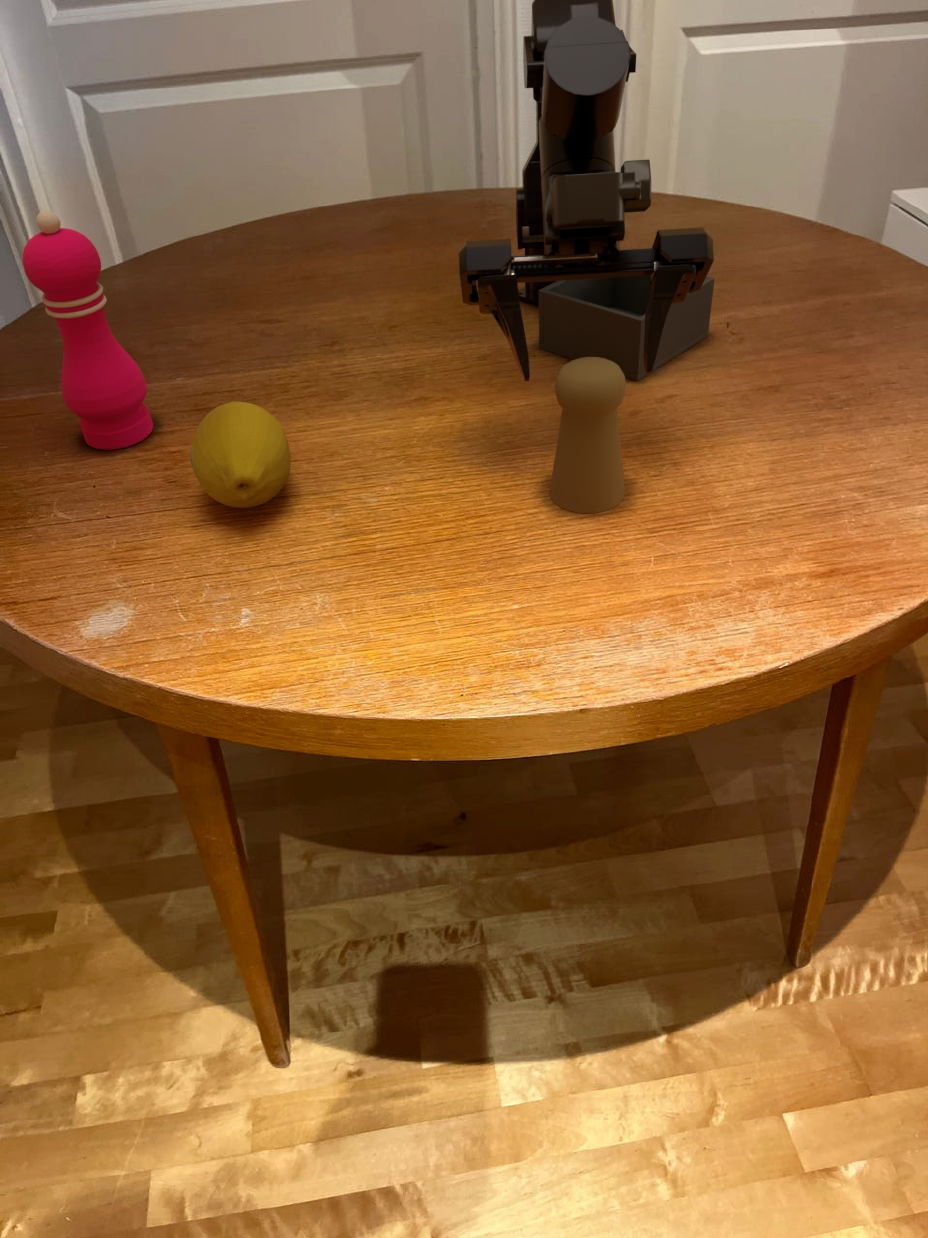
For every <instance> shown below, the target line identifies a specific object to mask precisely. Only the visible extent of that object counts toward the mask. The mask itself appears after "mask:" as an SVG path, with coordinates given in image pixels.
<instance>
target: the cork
mask: <svg viewBox="0 0 928 1238" xmlns="http://www.w3.org/2000/svg"><path fill="white" fill-rule="evenodd" d="M626 386H627V381H626V377H625V376H624V374H623V372H622V370H621V369H620V367H619V365H617V364H616V363H614V362H612V361H610V360H607V359H605V358H599V357H584V358H579V359H575V360H574V359H572V360H571V361H569V362H567V363H565V364H564V365H562V367H561V368H560V370H559V371H558V373H557V376H556V379H555V384H554V392H555V397H556V401H557V402H558V404H559V406H560V407H561V408H562V409H561V416H560V421H559V429H558V436H557V441H556V447H555V448H556V449H555V455H554V459H553V461H554V462H553V467H552V474H551V479H550V480H551V481H550V485H549V486H550V487H549V492H548V494H549V496H550V499H551V501H552V502H553V503H554V504H556V506H558V507H560V508H562V509H564V510H566V511H569V512H573V513H577V514H596V513H603V512H606V511H607V510H608V511H609V510H611V509H614V508H615V507H616V506H617V505H620V504H621V502H622V501H623V499H624V498H625V493H626V492H625V491H626V489H625V488H626V487H625V479H624V467H623V456H622V446H621V435H620V424H619V412H618V408H619V407H620V405H622V404H623V402H624V398H625V395H626Z"/></svg>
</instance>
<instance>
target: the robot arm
mask: <svg viewBox="0 0 928 1238" xmlns="http://www.w3.org/2000/svg"><path fill="white" fill-rule="evenodd" d="M614 7H615V6H614V0H533V1H532V3H531V29H530V30H531V34H530V35H523V38H522V40H523V43H522V45H523V46H522V50H523V51H522V53H523V54H522V57H523V59H522V60H523V61H522V62H523V85H524V89H532V98H533V100H534V102H535V126H536V127H535V132H536V133H535V134H536V135H535V137H536V141H535V143H534V145H533V147H532V149H531V152H530V153H529V155H528V157H527V159H526V162H525V164H524V166H523V168H522V172H521V173H522V174H521V175H522V176H521V177H522V178H521V181H522V183H521V184H522V187H520V188H515V190H516V191H515V225H516V226H515V227H516V229H515V230H516V231H515V232H516V244H517V250H524V255H512V241H511V240H512V239H511V238H498V239H497V238H496V239H495V238H494V239H480V240H466V241H465V242H464V243H463V244H462V245H461V247H460V248H459V250H458V269H459V270H458V271H459V282H460V288H461V289H460V290H461V298H462V299H461V300H462V303H463V304H465V305H468V306H478V310H479V313H480V314H483V315H492V316H493V318H494V320H495V322H496V323H497V325H498V326H499V328H500V330H501V331H502V334H503V335H504V337H505V338H506V340H507V342H508V345H509V347H510V350H511V352H512V355H513V357H514V360H515V362H516V364H517V367H518V369H519V371H520V374H521V377H522V379H523V381H524V382H530V380H531V379H530V378H531V375H530V374H531V373H530V371H531V370H530V355H529V349H528V343H527V338H526V337H527V336H526V332H525V326H524V320H523V314H522V308H521V301H523V302H526V303H530V304H533V305H536V306H539V290H541V289H543V288H545V287H547V286H548V285H550V284H552V283H554V282H556V281H562V280H580V279H598V278H616V277H633V276H648V282H649V287H650V290H649V292H648V295H647V298H646V309H645V334H644V367H645V374H646V376H651V375H652V373H653V371H652V370H653V367H654V363H655V359H656V355H657V351H658V347H659V344H660V340H661V336H662V332H663V328H664V325H665V321H666V317H667V314H668V311H669V309H670V306H671V304H678V303H681V302H683V301H684V300H685V298H686V296H687V293H693V292H695V291H698V290H700V289H701V287H702V284H703V282H704V280H705V278H706V276H707V277H708V274H709V272H710V270H711V268H712V265H713V263H714V262H715V256H714V239H713V237H712V236H711V234H710V233H709V232H708V231H707V230H706V229H705V228H704V227H703V226H702V227H687V228H686V227H685V228H684V227H683V228H671V229H670V228H669V229H666V228H665V229H657V231H656V234H655V237H654V241H653V244H652V247H651V248H633V249H620V248H621V247H620V242H621V241H624V239H625V235H626V234H625V233H626V225H625V224H626V223H625V221H626V219H625V217H626V216H625V215H626V213H643V212H646V211H647V210H648V209H649V208H650V207H651V205H652V173H651V160H650V159H636V160H635V159H633V160H625V161H624V162H623V163H622V165H621V167H620V171H616V154H615V133H614V130H615V128H616V127H617V124H618V121H619V118H620V115H621V114H620V113H621V109H622V104H623V99H624V98H623V97H624V93H625V88H626V83H628V82H629V78H630V74H633V73H636V71H637V53H636V52H635V51H634V49H633V48H632V47H631V46H630V44H629V41H628V40H627V39H626V36H625V33H624V30H623V29H620V28H619V27H617V26H616V17H615V15H616V14H615V9H614ZM525 227H526V228H525ZM527 227H528V228H527ZM523 283H524V285H525V286H524V289H522V290H520V291H519V285H518V284H523Z"/></svg>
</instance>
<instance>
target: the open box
mask: <svg viewBox="0 0 928 1238" xmlns="http://www.w3.org/2000/svg"><path fill="white" fill-rule="evenodd" d="M714 286H715V277H711V276H708V275H707V276H706V278H705V280H704V282H703V284H702V287H701V289H700V290H698V291H695V292H693V293H687V296H686V298H685V300H684V301H683V302H681V303H678V304H671V306H670V309H669V311H668V314H667V317H666V321H665V325H664V328H663V332H662V336H661V340H660V344H659V347H658V351H657V355H656V359H655V363H654V367H653V370H652V372H655V370H657V369H659V368H660V367H662V366H664V365H665V364H667V363H668V362H670V361H672V360H673V359H675V358H676V357H679V355H681V354H682V353H684V352H685V351H687V350H688V349H691V348H692V347H693V346H695V345H697V344H698V343H700V342H702V341H703V340H705V339H706V338H708V337H709V331H710V322H711V313H712V304H713V295H714ZM649 290H650V287H649V282H648V276H633V277H616V278H598V279H580V280H562V281H556V282H554V283H552V284H550V285H548V286H547V287H545V288H543V289H541V290H539V305H538V348H539V349H541V350H545V351H547V352H549V353H552V354H556V355H559V356H562V357H565V358H568V359H570V360H575V359H579V358H584V357H599V358H605V359H607V360H610V361H612V362H614V363H616V364H617V365H619V367H620V369H621V370H622V372H623V374H624V376H625V378H628V379H630V380H633V381H636V382H638V381H640V380H641V379H643V378H645V377H646V376H647V375H646V374H645V367H644V334H645V309H646V298H647V295H648V292H649Z"/></svg>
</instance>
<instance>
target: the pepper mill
mask: <svg viewBox="0 0 928 1238" xmlns="http://www.w3.org/2000/svg"><path fill="white" fill-rule="evenodd" d="M35 221H36V226H37V228H38V230H39V231H40V232H38V233H37V234H35V235H33V236H32V237H31V238H29V240H28V241H27V242H26V244H25V245H24V247H23V251H22V266H23V270H24V273H25V276H26V277H27V279H28V281H29V282H30V284H32V286H34V287H35V288H37V289H38V290H39V291H41V292H42V293H43V294H42V296H41V302H42V303H43V304H44V306H45V309H44V310H45V312H46V314H47V315H48V316H49V317H52V318H53V319H54V320H55V323H56V325H57V327H58V329H59V332H60V337H61V339H62V344H63V358H62V359H63V361H62V369H61V377H60V379H61V393H62V395H63V400H64V403H65V406H66V407H67V409H68V410H69V411H70V412H71V413H72V414H74V415H75V416H76V417H78V418H80V421H79V427H80V430H81V433H82V435H83V438H84V440H85V443H86V445H88V446H89V447H91V448H94V449H96V450H101V451H102V450H103V451H104V450H105V451H113V450H118V449H119V450H120V449H124V448H127V447H128V448H129V447H131V446H134V445H136V444H138V443H140V442H142V441H144V440H145V439H147V437H149V436H150V435H151V433H152V431H153V429H154V422H153V419H152V416H151V413H150V410H149V407H148V406H147V405H146V404H145V403H144V401H145V399H146V396H147V395H148V394H147V393H148V385H147V382H146V379H145V376H144V375H143V372H142V370H141V368H140V367H139V366H138V364H137V362H136V361H135V360H134V359H133V357H132V356H131V355H130V353H128V352H127V351H126V350H125V349H124V348H123V347H122V345H121V344H120V343H119V342H118V340H117V339H116V337H115V336H114V334H113V333H112V331H111V328H110V326H109V323H108V321H107V318H106V314H105V313H106V312H105V308H104V306H105V305H106V304H107V299H108V298H107V296H105V294H104V286H103V285H102V284H101V283H99V282H98V279H99V277H100V275H101V270H102V260H101V257H100V253H99V251H98V250H97V247H96V246H95V245H94V243H93V242H92V241H91V240H90V239H89V237H87V236H86V235H85V234H83V233H82V232H79V231H78V230H75V229H72V228H66V227H61V224H62V223H61V220H60V218H59V216H58V215H57V214H56V213H55V212H53V211H51V210H43V211H39V213H38V214H37V216H36V220H35Z"/></svg>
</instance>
